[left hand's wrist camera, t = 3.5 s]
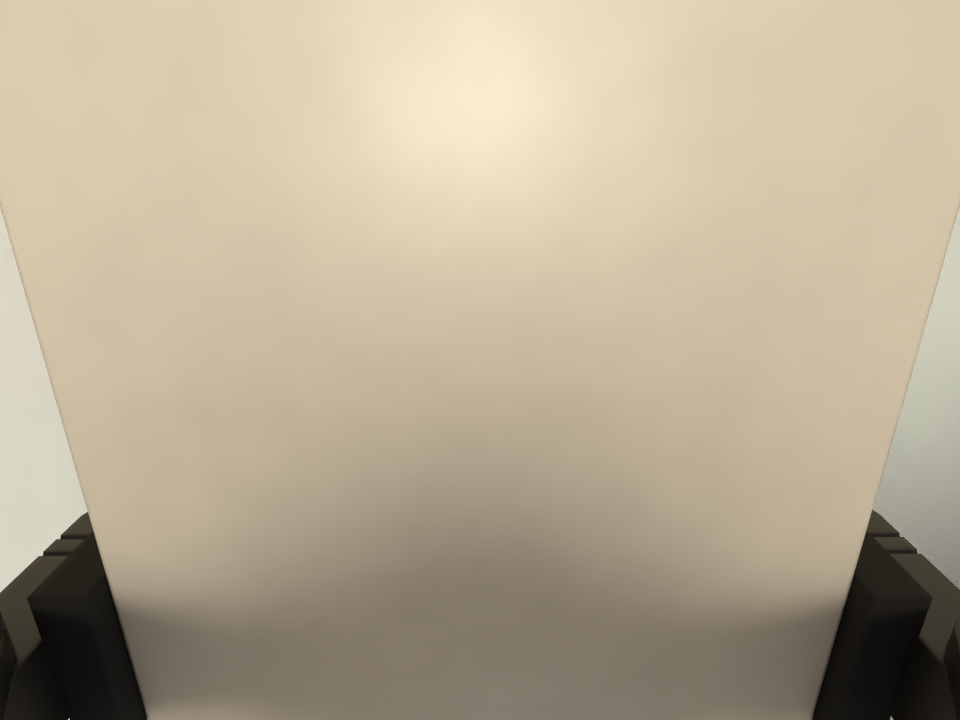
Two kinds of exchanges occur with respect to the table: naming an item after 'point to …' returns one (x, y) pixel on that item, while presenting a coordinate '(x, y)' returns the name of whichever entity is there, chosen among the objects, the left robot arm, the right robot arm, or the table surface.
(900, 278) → the thick board
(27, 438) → the table surface
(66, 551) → the left robot arm
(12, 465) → the table surface
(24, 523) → the table surface
